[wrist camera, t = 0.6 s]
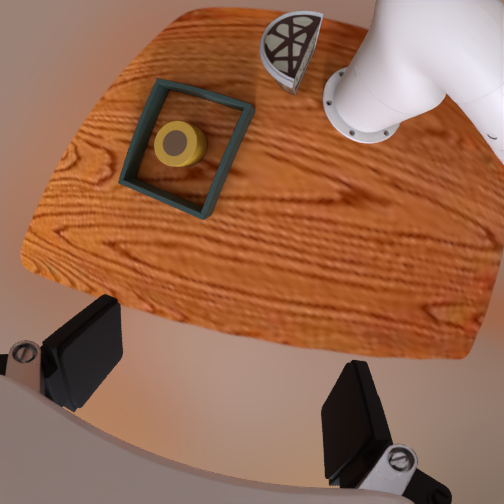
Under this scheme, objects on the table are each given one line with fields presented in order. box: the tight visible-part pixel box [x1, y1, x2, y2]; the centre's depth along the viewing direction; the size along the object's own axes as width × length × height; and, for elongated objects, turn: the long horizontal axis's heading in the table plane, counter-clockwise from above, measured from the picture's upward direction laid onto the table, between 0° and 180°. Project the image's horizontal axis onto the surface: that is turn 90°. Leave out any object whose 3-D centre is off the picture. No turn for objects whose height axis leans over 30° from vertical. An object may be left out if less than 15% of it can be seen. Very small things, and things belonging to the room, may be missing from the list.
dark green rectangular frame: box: [118, 78, 255, 220], centre depth 37 cm, size 18×16×4 cm
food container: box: [260, 11, 323, 96], centre depth 29 cm, size 12×6×10 cm, turn 159°
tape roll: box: [154, 121, 207, 167], centre depth 37 cm, size 7×7×5 cm
